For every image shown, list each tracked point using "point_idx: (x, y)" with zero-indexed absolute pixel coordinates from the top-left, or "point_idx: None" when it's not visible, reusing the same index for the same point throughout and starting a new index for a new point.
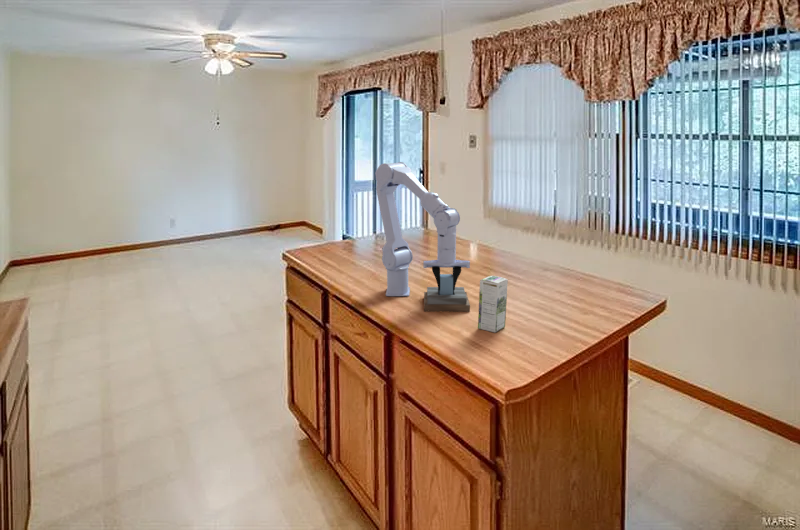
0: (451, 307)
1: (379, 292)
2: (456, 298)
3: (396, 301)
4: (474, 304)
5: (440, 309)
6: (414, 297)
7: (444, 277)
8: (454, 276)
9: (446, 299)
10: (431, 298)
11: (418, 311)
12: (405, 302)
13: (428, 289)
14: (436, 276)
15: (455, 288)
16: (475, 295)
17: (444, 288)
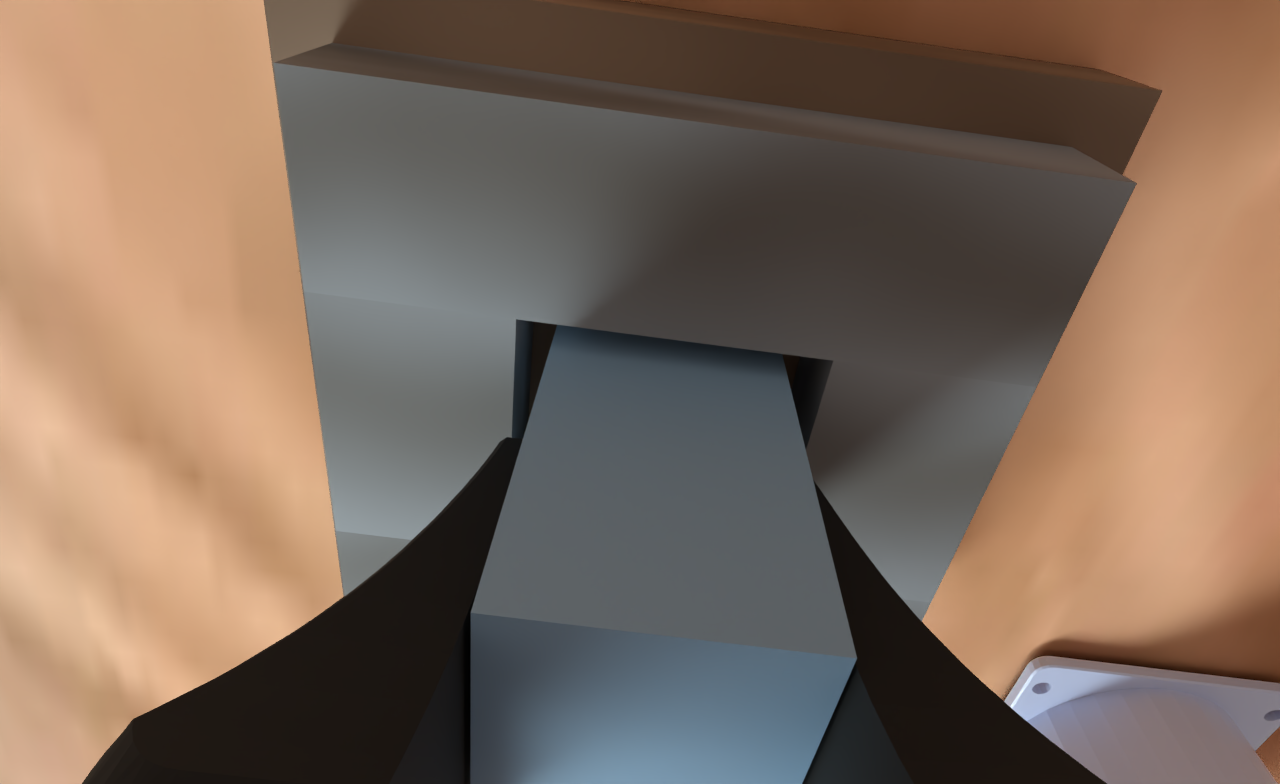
0: (633, 9)
1: None
2: (503, 94)
3: (1263, 537)
4: (257, 306)
5: (833, 34)
6: (978, 623)
7: (729, 654)
8: (420, 641)
9: (722, 119)
10: (1048, 169)
11: (1191, 91)
12: (1171, 492)
13: None
14: (975, 709)
15: None
16: (265, 594)
17: (714, 440)
